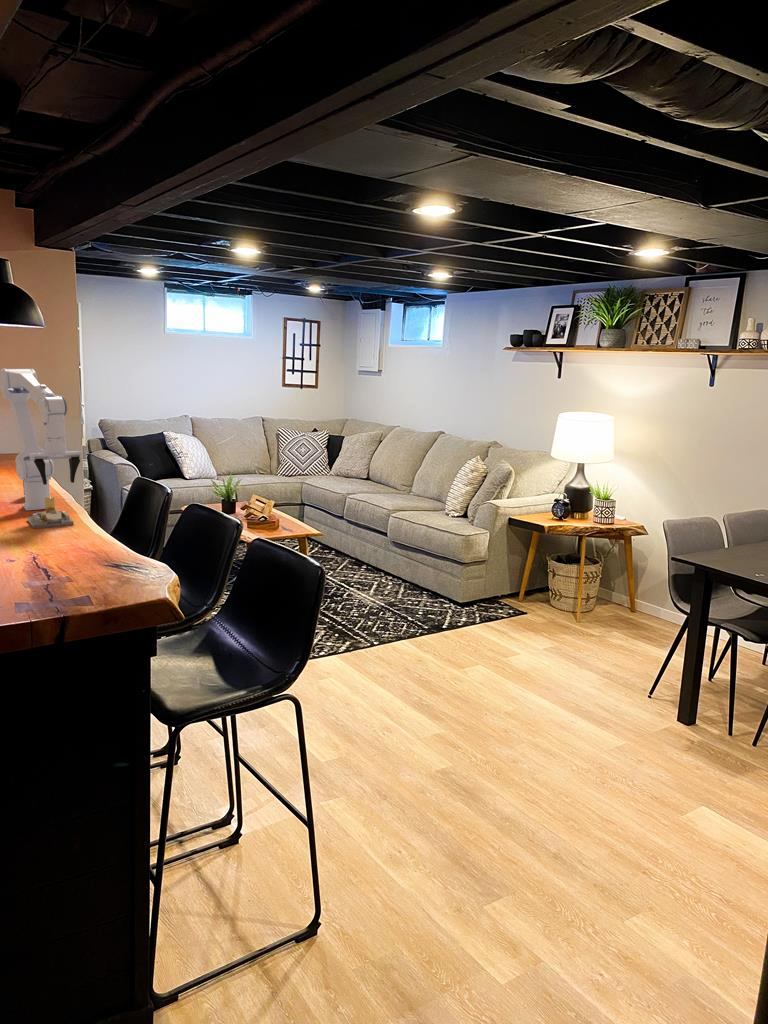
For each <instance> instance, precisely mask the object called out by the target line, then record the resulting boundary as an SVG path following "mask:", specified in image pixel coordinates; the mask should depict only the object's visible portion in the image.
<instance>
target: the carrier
mask: <svg viewBox="0 0 768 1024" xmlns="http://www.w3.org/2000/svg"><path fill="white" fill-rule="evenodd" d="M45 512H46V511H41V512H40V511H39V512H35V513H32V516H27V518H26V519H27V520H26V521H27V522H28V523H29V525H31V527H32V528H33V530H35V529H36V530H37V529H46V528H56V527H66V526H74V520H73V519H71V517H70V514H69V513H68V512H67V511H66V510H56V509H55V510H54V511H50V512H48V513H46V520H44V519H41V514H42V513H45Z"/></svg>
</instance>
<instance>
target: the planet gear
mask: <svg viewBox="0 0 768 1024" xmlns="http://www.w3.org/2000/svg"><path fill="white" fill-rule="evenodd" d="M44 499H45V509H44V510H45V511H44V512H45V513H42V514H41V519H44V520H46V513H48V512H50V511H54V510H55V511H56V504H55V502H56V501H55V497H53V496H50V497H46V498H44Z"/></svg>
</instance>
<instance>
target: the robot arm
mask: <svg viewBox="0 0 768 1024" xmlns="http://www.w3.org/2000/svg"><path fill="white" fill-rule="evenodd" d="M0 392H1V394H2V397H3V399H5V400H7V401H8V402H9V405H10V409H11V414H12V417H13V422H14V425H15V428H16V431H17V436H18V439H19V442H20V447H21V452H20V453H18V454H17V455H16V457H15V460H14V462H15V471H16V474H17V477H18V478H19V479H20V480H21V481H22V482H23V481H24V487H23V492H24V491H25V495H24V500H25V503H22V507H23V509H24V510H25V511H38V510H39V511H40V510H45V499H44V498H46V497H51V492H50V490H51V489H50V481H49V480H51V479H52V477H53V476H54V474H55V464H54V460H63V459H65V460H66V459H68V463H69V474H70V475H69V479H70V482H71V483H75V480H76V479H75V478H76V473H77V470H78V467H79V465H80V463H81V459H82V458H84V451H83V450H67V448H68V447H67V438H66V437H67V434H66V424H65V423H66V422H65V416H66V415H67V413H68V403H67V400H66V398H65V396H63V395H56V394H55V393H54V392H53V391H52V390H51V389H50V388H49V387H47V385H46V384H41V383H40V382H39V381H38V375H37V372H36V371H35V370H34V368H1V369H0ZM30 399H31V400H32V401H33V402H34V404H36V406H38V411H39V413H40V417H41V422H42V423H43V432H44V444H45V445H44V446H45V449H43V448H42V447H40V445H39V443H38V442H39V441H38V438H37V435H36V430H35V427H34V424H33V423H34V422H33V420H32V417H31V413H30V409H29V405H28V400H30Z"/></svg>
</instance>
